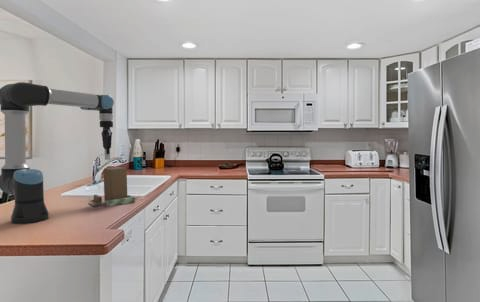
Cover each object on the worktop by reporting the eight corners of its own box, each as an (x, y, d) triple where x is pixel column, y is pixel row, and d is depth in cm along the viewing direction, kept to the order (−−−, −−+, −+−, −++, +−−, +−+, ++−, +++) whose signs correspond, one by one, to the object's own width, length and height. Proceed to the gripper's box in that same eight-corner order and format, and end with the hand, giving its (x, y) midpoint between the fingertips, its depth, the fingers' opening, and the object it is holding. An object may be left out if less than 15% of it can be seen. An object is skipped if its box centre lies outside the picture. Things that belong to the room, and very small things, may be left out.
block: (119, 199, 208) (118, 166, 207) (128, 201, 201) (127, 167, 200) (103, 202, 200) (102, 168, 199) (112, 204, 193) (110, 169, 192)
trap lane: (95, 207, 184) (95, 202, 184) (83, 201, 204) (82, 196, 204) (143, 201, 201) (143, 196, 201) (127, 195, 221) (127, 190, 220)
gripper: (116, 120, 204) (117, 159, 205) (109, 121, 214) (110, 158, 215) (103, 120, 199) (104, 160, 200) (96, 121, 209) (97, 159, 211)
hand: (107, 159), depth 208 cm, fingers closed
